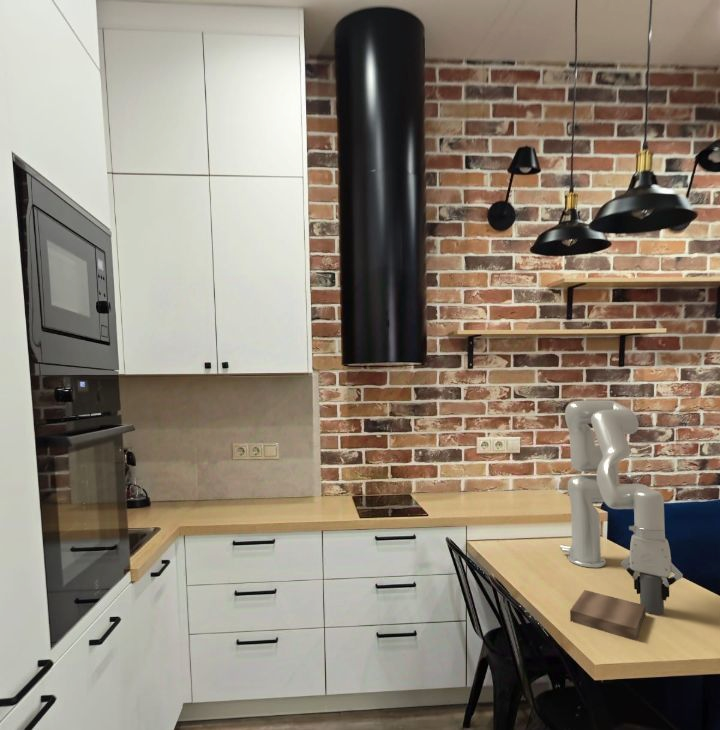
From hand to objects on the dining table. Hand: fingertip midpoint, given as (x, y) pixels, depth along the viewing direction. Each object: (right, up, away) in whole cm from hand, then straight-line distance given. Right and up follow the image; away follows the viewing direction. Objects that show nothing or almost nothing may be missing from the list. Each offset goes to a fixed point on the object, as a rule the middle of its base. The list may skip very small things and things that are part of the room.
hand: (651, 594), depth 135 cm
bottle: (0, -5, 0) cm, 5 cm away
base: (-15, -4, -5) cm, 16 cm away
